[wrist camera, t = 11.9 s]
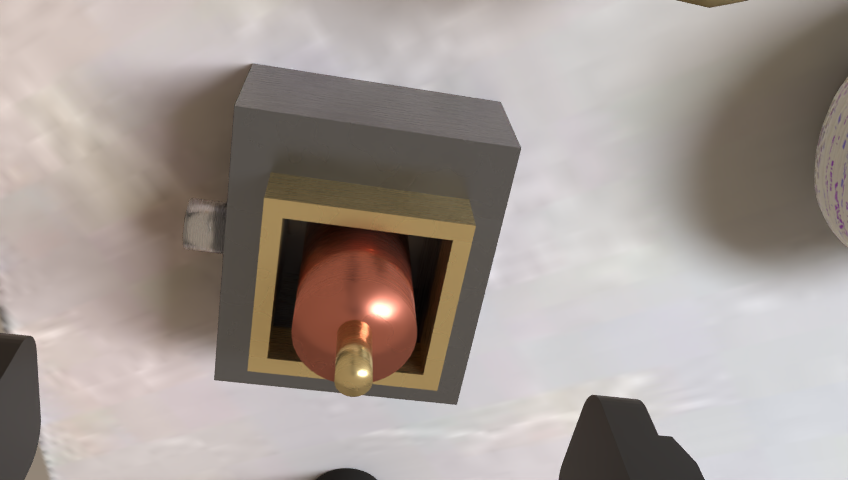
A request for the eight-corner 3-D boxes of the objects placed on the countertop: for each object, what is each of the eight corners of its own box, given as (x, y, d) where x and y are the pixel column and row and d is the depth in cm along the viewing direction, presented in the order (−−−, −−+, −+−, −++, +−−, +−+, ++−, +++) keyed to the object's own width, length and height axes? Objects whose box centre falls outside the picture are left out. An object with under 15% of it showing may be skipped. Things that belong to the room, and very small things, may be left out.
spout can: (313, 169, 40) (291, 317, 28) (413, 183, 40) (432, 333, 29) (302, 258, 42) (278, 427, 31) (397, 269, 43) (409, 439, 31)
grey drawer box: (209, 56, 38) (170, 119, 30) (500, 102, 40) (531, 171, 32) (195, 307, 44) (160, 410, 37) (446, 335, 46) (461, 438, 39)
